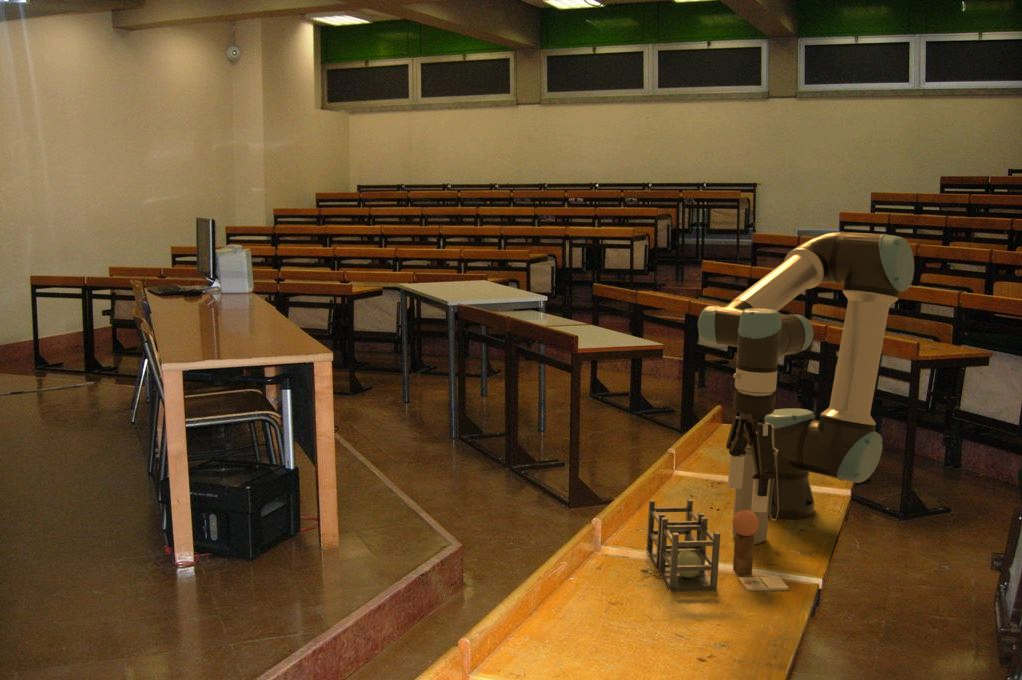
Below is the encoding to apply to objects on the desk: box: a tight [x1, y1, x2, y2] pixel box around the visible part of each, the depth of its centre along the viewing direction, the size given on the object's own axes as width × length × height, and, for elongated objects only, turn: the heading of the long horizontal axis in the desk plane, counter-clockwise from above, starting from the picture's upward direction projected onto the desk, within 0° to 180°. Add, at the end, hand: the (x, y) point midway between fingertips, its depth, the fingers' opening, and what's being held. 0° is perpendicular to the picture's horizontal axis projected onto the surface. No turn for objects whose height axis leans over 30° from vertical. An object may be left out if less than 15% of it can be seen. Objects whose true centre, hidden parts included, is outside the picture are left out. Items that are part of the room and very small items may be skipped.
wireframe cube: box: [646, 498, 705, 570], centre depth 194 cm, size 9×9×11 cm
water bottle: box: [731, 422, 779, 545], centre depth 205 cm, size 9×8×25 cm
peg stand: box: [732, 533, 755, 576], centre depth 190 cm, size 3×3×8 cm
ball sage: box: [677, 551, 702, 578], centre depth 185 cm, size 5×5×5 cm
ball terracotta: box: [731, 510, 759, 536], centre depth 189 cm, size 5×5×5 cm
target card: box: [737, 576, 790, 592], centre depth 185 cm, size 8×5×1 cm, turn 96°
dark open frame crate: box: [658, 516, 721, 592], centre depth 185 cm, size 9×9×11 cm
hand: (746, 499), depth 187 cm, fingers open, 13 cm apart
